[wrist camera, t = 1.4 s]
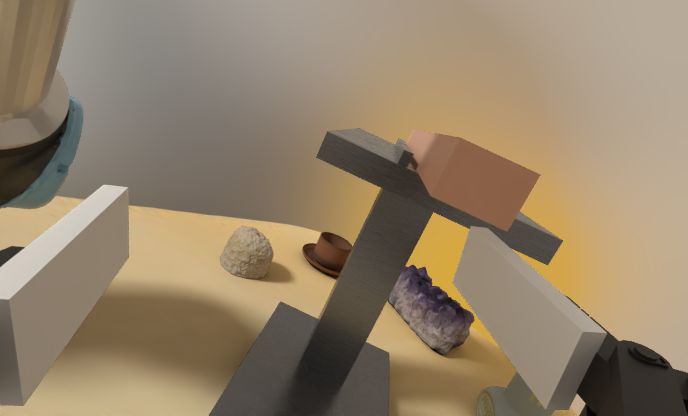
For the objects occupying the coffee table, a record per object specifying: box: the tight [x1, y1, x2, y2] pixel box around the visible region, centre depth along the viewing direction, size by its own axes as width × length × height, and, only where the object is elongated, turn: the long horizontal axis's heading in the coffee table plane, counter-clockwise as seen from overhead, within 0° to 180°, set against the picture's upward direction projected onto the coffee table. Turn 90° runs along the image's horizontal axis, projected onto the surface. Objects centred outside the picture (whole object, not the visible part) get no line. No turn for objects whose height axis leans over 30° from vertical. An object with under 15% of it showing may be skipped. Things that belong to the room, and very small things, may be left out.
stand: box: [209, 128, 563, 416], centre depth 45 cm, size 28×18×31 cm, turn 172°
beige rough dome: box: [220, 226, 274, 279], centre depth 69 cm, size 9×9×9 cm
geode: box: [388, 265, 474, 355], centre depth 78 cm, size 20×12×10 cm, turn 32°
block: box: [407, 129, 540, 232], centre depth 38 cm, size 40×4×3 cm, turn 172°
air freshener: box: [477, 372, 554, 416], centre depth 54 cm, size 11×8×10 cm
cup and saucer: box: [302, 232, 353, 276], centre depth 84 cm, size 12×12×6 cm
